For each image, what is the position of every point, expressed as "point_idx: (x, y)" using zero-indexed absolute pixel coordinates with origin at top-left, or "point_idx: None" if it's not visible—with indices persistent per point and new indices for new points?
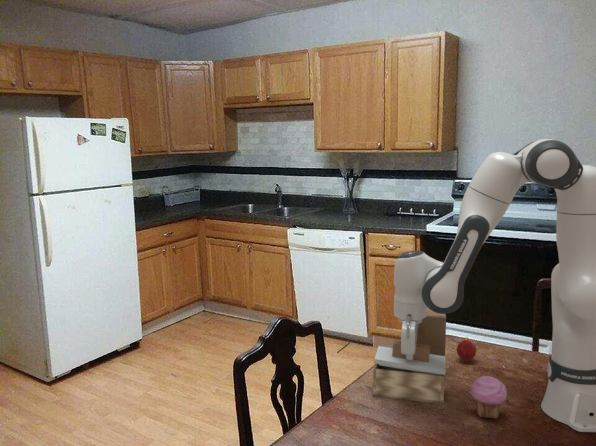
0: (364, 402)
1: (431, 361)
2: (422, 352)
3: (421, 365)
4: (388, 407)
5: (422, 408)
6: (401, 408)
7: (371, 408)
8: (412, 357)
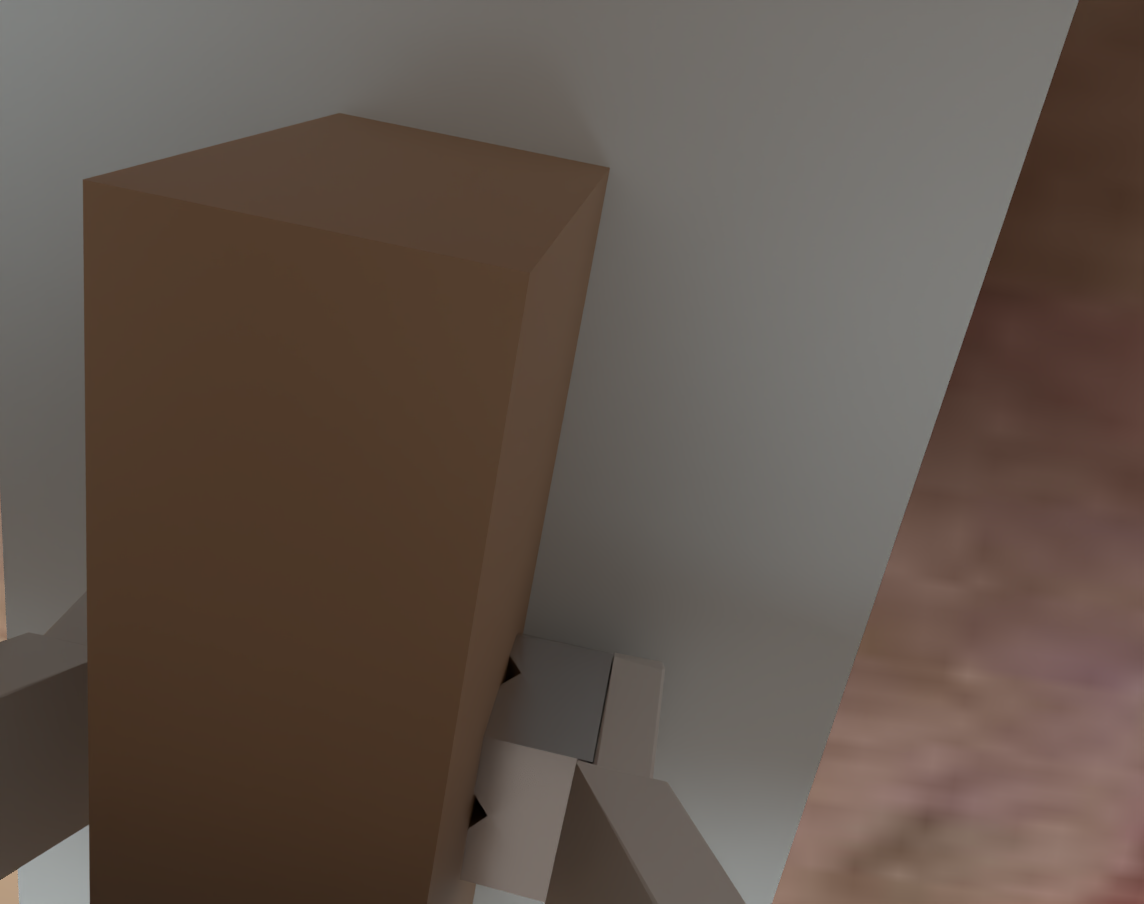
0: (821, 831)
1: (521, 56)
2: (523, 492)
3: (846, 425)
4: (959, 621)
5: (1041, 192)
6: (1003, 478)
7: (962, 788)
8: (653, 713)
